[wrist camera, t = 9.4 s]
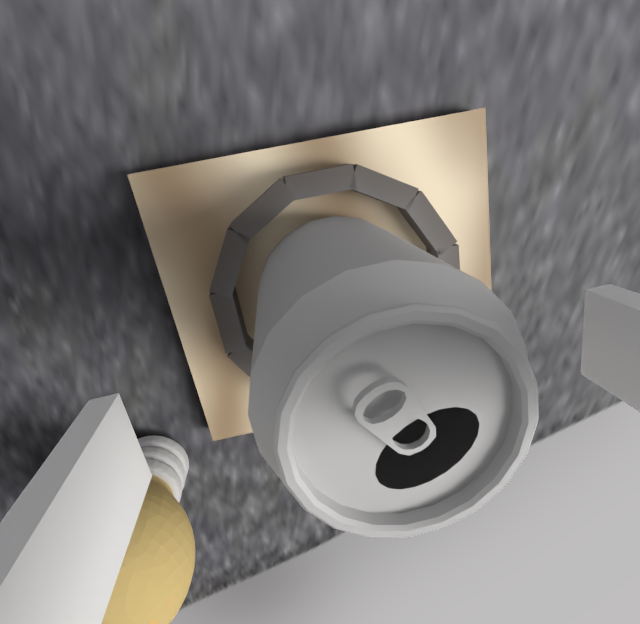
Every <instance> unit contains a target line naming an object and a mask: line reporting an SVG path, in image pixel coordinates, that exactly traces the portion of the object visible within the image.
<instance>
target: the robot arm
mask: <svg viewBox="0 0 640 624" xmlns="http://www.w3.org/2000/svg"><path fill="white" fill-rule="evenodd" d="M581 374H582V375H583V376H585V377H586V378H588V379H590V380H591V381H593V382H594V383H596V384H597V385H599V386H600V387H602V388H604V389H605V390H607V391H608V392H610V393H611V394H613V395H614V396H616V397H617V398H619V399H621V400H622V401H624V402H625V403H627V404H628V405H630V406H631V407H633V408H635V409H636V410H638V411H639V412H640V294H639V293H636V292H633V291H630V290H627V289H624V288H621V287H618V286H615V285H612V284H608V285H604V286H599V287H595V288H590V289H586V290H585V306H584V324H583V341H582V358H581ZM151 478H152V474H151V471H150V469H149V467H148V464H147V462H146V459H145V457H144V454H143V452H142V449H141V447H140V444H139V442H138V439H137V437H136V435H135V432H134V430H133V427H132V425H131V422H130V420H129V417H128V415H127V412H126V410H125V407H124V405H123V403H122V400H121V398H120V395H119V393H118V394H113V395H109V396H104V397H100V398H95V399H91V400H89V401H88V402H87V403H86V405H85V406H84V408H83V409H82V410H81V412H80V413H79V414H78V416H77V417H76V419H75V420H74V421H73V423H72V424H71V426H70V427H69V428H68V430H67V431H66V432H65V434H64V435H63V437H62V438H61V439H60V441H59V442H58V444H57V445H56V446H55V448H54V449H53V450H52V452H51V453H50V455H49V456H48V457H47V459H46V460H45V461H44V463H43V464H42V466H41V467H40V468H39V470H38V471H37V473H36V474H35V475H34V477H33V478H32V479H31V481H30V482H29V484H28V485H27V486H26V488H25V489H24V490H23V492H22V493H21V495H20V496H19V497H18V499H17V500H16V502H15V503H14V504H13V506H12V507H11V508H10V510H9V511H8V513H7V514H6V515H5V517H4V518H3V520H2V521H1V522H0V624H101V623H102V620H103V617H104V614H105V612H106V609H107V606H108V603H109V600H110V597H111V594H112V591H113V588H114V585H115V582H116V579H117V577H118V574H119V571H120V568H121V565H122V562H123V559H124V556H125V553H126V550H127V547H128V545H129V542H130V539H131V536H132V533H133V530H134V527H135V524H136V521H137V518H138V515H139V512H140V510H141V507H142V504H143V501H144V498H145V495H146V492H147V489H148V486H149V483H150V480H151Z"/></svg>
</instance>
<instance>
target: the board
mask: <svg viewBox="0 0 640 624" xmlns="http://www.w3.org/2000/svg"><path fill="white" fill-rule="evenodd" d="M127 175H128V178H129V182H130V185H131V188H132V191H133V194H134V197H135V200H136V203H137V206H138V209H139V212H140V216H141V219H142V222H143V225H144V228H145V231H146V234H147V237H148V240H149V243H150V247H151V250H152V253H153V256H154V259H155V262H156V265H157V268H158V271H159V274H160V277H161V281H162V284H163V287H164V290H165V293H166V296H167V299H168V302H169V305H170V308H171V312H172V315H173V318H174V321H175V324H176V327H177V330H178V333H179V336H180V339H181V342H182V346H183V349H184V352H185V355H186V358H187V361H188V364H189V367H190V370H191V373H192V377H193V380H194V383H195V386H196V389H197V392H198V395H199V398H200V401H201V404H202V408H203V411H204V414H205V417H206V420H207V423H208V426H209V429H210V432H211V435H212V438H213V441H215V440H220V439H224V438H229V437H234V436H238V435H243V434H247V433H252V432H253V430H252V427H251V424H250V421H249V417H248V404H249V389H250V375H251V364H252V353H253V343H254V333H255V322H256V312H257V301H258V291H259V280H260V276H261V273H262V271H263V269H264V266H265V264H266V261H267V259H268V257H269V254H270V253H271V252H272V251H273V250H274V249H275V247H276V246H277V245H278V244H279V243H280V242H281V241H282V239H283V238H284V237H285V236H286V235H287V234H289V233H290V232H292V231H294V230H295V229H297V228H299V227H300V226H302V225H304V224H305V223H307V222H309V221H312V220H317V219H321V218H326V217H330V216H345V217H354V218H361V219H364V220H366V221H368V222H370V223H372V224H374V225H376V226H378V227H381V228H383V229H385V230H387V231H388V232H390V233H392V234H394V235H396V236H398V237H400V238H401V239H403V240H405V241H407V242H409V243H411V244H413V245H414V246H416V247H418V248H420V249H422V250H424V251H425V252H427V253H429V254H431V255H433V256H435V257H437V258H438V259H440V260H442V261H444V262H446V263H448V264H450V265H451V266H453V267H455V268H457V269H459V270H461V271H463V272H464V273H466V274H468V275H470V276H472V277H474V278H476V279H477V280H479V281H481V282H483V283H484V284H485V285H486V286H487V287H488V288H489V289H490V290H491V261H490V231H489V201H488V171H487V141H486V111H485V108H481V109H476V110H470V111H465V112H460V113H454V114H449V115H443V116H438V117H433V118H427V119H422V120H417V121H411V122H406V123H401V124H395V125H390V126H385V127H379V128H374V129H368V130H363V131H358V132H352V133H347V134H342V135H336V136H331V137H326V138H320V139H315V140H309V141H304V142H299V143H293V144H288V145H283V146H277V147H272V148H267V149H261V150H256V151H250V152H245V153H240V154H234V155H229V156H224V157H218V158H213V159H208V160H202V161H197V162H192V163H186V164H181V165H175V166H170V167H165V168H159V169H154V170H149V171H143V172H138V173H133V174H127Z"/></svg>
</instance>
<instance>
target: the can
mask: <svg viewBox="0 0 640 624" xmlns="http://www.w3.org/2000/svg"><path fill="white" fill-rule="evenodd" d="M248 417H249V421H250V424H251V427H252V430H253V434H254V437H255V440H256V443H257V446H258V450H259V452H260V454H261V455H262V456H263V458H264V459H265V460H266V461H267V463H268V464H269V465H270V466H271V468H272V469H273V470H274V472H275V473H276V474H277V475H278V477H279V478H280V479H281V481H282V482H283V483H284V485H285V486H286V487H287V489H288V490H289V491H290V492H291V494H292V495H293V496H294V497H295V499H296V500H297V501H298V503H299V504H300V505H301V506H302V508H303V509H304V510H305V511H307V512H308V513H310V514H312V515H313V516H315V517H316V518H318V519H320V520H321V521H323V522H324V523H326V524H328V525H329V526H331V527H332V528H334V529H338V530H342V531H346V532H349V533H353V534H357V535H361V536H365V537H369V538H377V537H378V538H380V537H381V538H383V537H385V538H389V537H411V536H414V535H418V534H422V533H426V532H430V531H434V530H438V529H442V528H445V527H446V526H449V525H450V524H452V523H454V522H456V521H458V520H460V519H462V518H464V517H466V516H468V515H470V514H472V513H474V512H475V511H477V510H478V509H479V508H481V507H482V506H483V505H484V504H485V503H486V502H488V501H489V500H490V499H491V498H492V497H493V496H495V495H496V494H497V493H498V492H499V491H500V490H501V489H503V488H504V487H505V485H506V484H507V483H508V481H509V480H510V479H511V477H512V475H513V474H514V473H515V471H516V470H517V468H518V467H519V465H520V464H521V462H522V461H523V460H524V458H525V457H526V455H527V453H528V450H529V447H530V444H531V441H532V438H533V435H534V432H535V429H536V426H537V423H538V420H539V419H538V383H537V381H536V379H535V376H534V374H533V371H532V369H531V366H530V364H529V362H528V359H527V348H526V345H525V343H524V340H523V338H522V335H521V333H520V330H519V328H518V326H517V323H516V321H515V318H514V316H513V313H512V312H511V311H510V310H509V309H508V308H507V307H506V306H505V305H504V303H503V302H502V301H501V300H500V299H499V298H498V297H497V296H496V295H495V294H494V293H493V292H492V291H491V290H490V289H489V288H488V287H487V286H486V285H485V284H484V283H483V282H481V281H479V280H477V279H476V278H474V277H472V276H470V275H468V274H466V273H464V272H463V271H461V270H459V269H457V268H455V267H453V266H451V265H450V264H448V263H446V262H444V261H442V260H440V259H438V258H437V257H435V256H433V255H431V254H429V253H427V252H425V251H424V250H422V249H420V248H418V247H416V246H414V245H413V244H411V243H409V242H407V241H405V240H403V239H401V238H400V237H398V236H396V235H394V234H392V233H390V232H388V231H387V230H385V229H383V228H381V227H378V226H376V225H374V224H372V223H370V222H368V221H366V220H364V219H361V218H354V217H345V216H330V217H326V218H321V219H317V220H312V221H309V222H307V223H305V224H304V225H302V226H300V227H299V228H297V229H295V230H294V231H292V232H290V233H289V234H287V235H286V236H285V237H284V238H283V239H282V241H281V242H280V243H279V244H278V245H277V246H276V247H275V249H274V250H273V251H272V252H271V253H270V254H269V257H268V259H267V261H266V264H265V266H264V269H263V271H262V273H261V276H260V280H259V291H258V301H257V312H256V322H255V333H254V343H253V353H252V364H251V375H250V389H249V404H248Z"/></svg>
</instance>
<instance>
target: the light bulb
mask: <svg viewBox="0 0 640 624" xmlns="http://www.w3.org/2000/svg"><path fill="white" fill-rule="evenodd" d="M138 442H139V444H140V447H141V449H142V452H143V454H144V457H145V459H146V462H147V464H148V467H149V469H150V471H151V474H152V478H151V480H150V483H149V486H148V489H147V492H146V495H145V498H144V501H143V504H142V507H141V510H140V512H139V515H138V518H137V521H136V524H135V527H134V530H133V533H132V536H131V539H130V542H129V545H128V547H127V550H126V553H125V556H124V559H123V562H122V565H121V568H120V571H119V574H118V577H117V579H116V582H115V585H114V588H113V591H112V594H111V597H110V600H109V603H108V606H107V609H106V612H105V614H104V617H103V620H102V623H101V624H169V623H170V622H171V621H172V620H173V619H174V617H175V615H176V614H177V612H178V610H179V609H180V607H181V605H182V603H183V601H184V599H185V597H186V595H187V592H188V589H189V586H190V583H191V579H192V575H193V571H194V565H195V539H194V535H193V531H192V527H191V524H190V522H189V519H188V517H187V515H186V512H185V511H184V509H183V508H182V506H181V505H180V504H179V502H180V499H181V495H182V490H183V488H184V484H185V479H186V476H187V473H188V469H189V460H188V457H187V454H186V452H185V450H184V449H183V447H182V446H180V445H179V444H178V443H177V442H175V441H174V440H172V439H170V438H167V437H163V436H156V435H153V436H145V437H141V438H138Z"/></svg>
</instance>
